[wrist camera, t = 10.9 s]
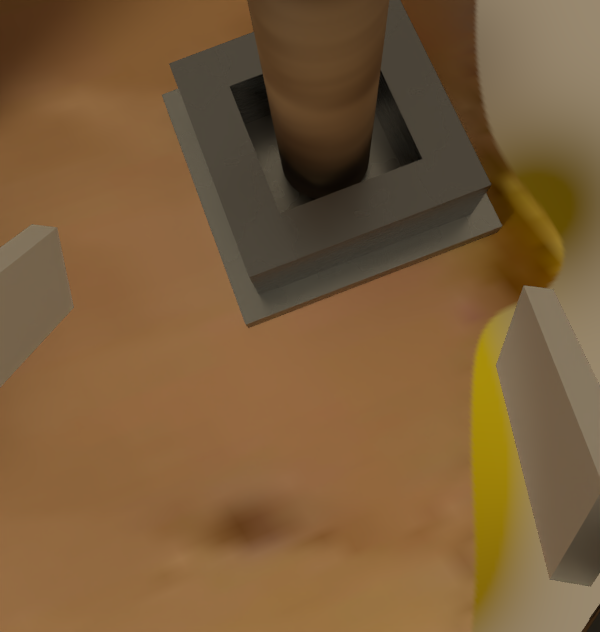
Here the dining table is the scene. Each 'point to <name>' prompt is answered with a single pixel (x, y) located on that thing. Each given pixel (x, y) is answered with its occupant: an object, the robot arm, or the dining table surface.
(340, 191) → the grey square socket base
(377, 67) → the brown wooden cylinder
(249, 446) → the dining table surface
